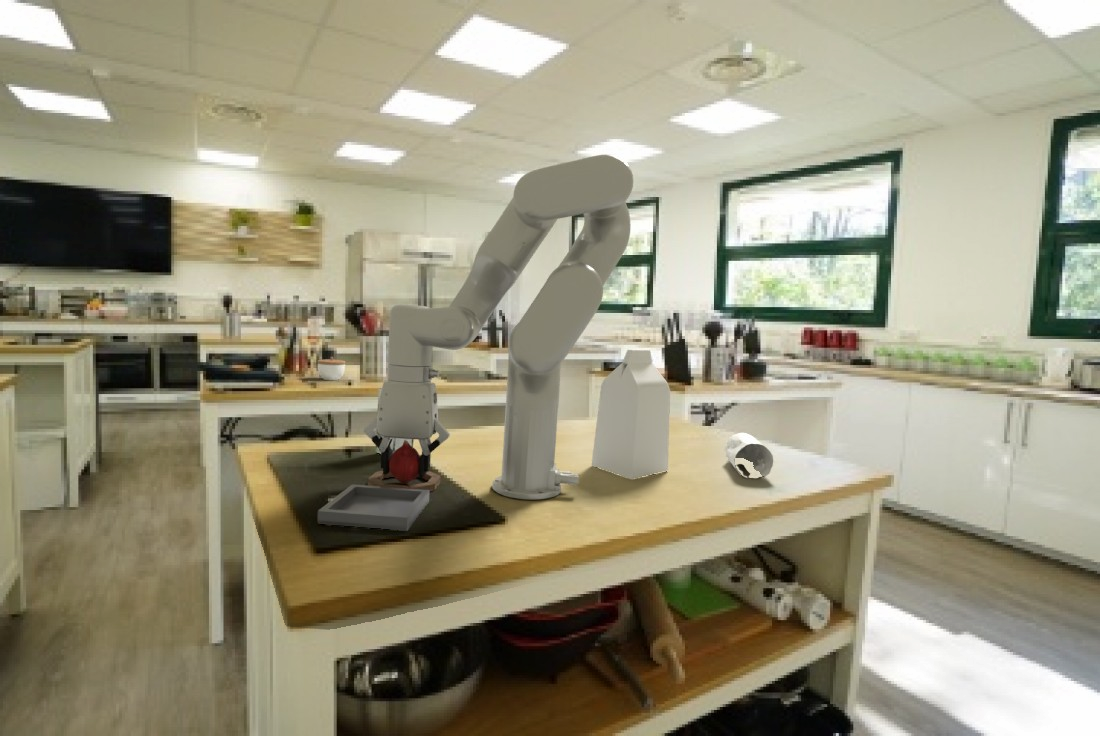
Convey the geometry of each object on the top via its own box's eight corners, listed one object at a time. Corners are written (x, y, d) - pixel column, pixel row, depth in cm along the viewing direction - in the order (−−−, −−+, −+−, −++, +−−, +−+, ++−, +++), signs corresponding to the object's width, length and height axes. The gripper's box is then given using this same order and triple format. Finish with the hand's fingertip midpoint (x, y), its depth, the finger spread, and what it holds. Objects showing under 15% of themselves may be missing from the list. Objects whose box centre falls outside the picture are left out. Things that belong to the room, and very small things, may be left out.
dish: (429, 501, 95) (429, 490, 94) (407, 531, 82) (407, 517, 81) (351, 496, 95) (351, 484, 95) (317, 524, 82) (317, 511, 82)
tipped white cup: (751, 460, 140) (755, 429, 139) (771, 482, 121) (775, 445, 120) (718, 457, 141) (721, 426, 140) (733, 478, 122) (736, 441, 121)
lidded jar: (312, 378, 234) (312, 355, 233) (336, 377, 242) (337, 355, 241) (325, 381, 227) (326, 358, 226) (350, 380, 235) (350, 357, 234)
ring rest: (444, 477, 109) (445, 471, 109) (429, 496, 97) (430, 490, 97) (382, 472, 109) (382, 466, 109) (360, 491, 97) (360, 484, 97)
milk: (631, 479, 116) (641, 352, 113) (591, 466, 124) (600, 347, 122) (667, 472, 124) (678, 352, 121) (627, 459, 132) (636, 347, 130)
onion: (427, 483, 105) (429, 440, 104) (407, 491, 99) (409, 446, 99) (402, 477, 107) (404, 435, 106) (381, 485, 102) (383, 441, 101)
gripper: (461, 375, 105) (456, 471, 107) (368, 369, 105) (365, 465, 107) (453, 380, 97) (448, 483, 99) (353, 373, 98) (350, 476, 100)
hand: (405, 472), depth 103 cm, fingers closed on onion, 5 cm apart
